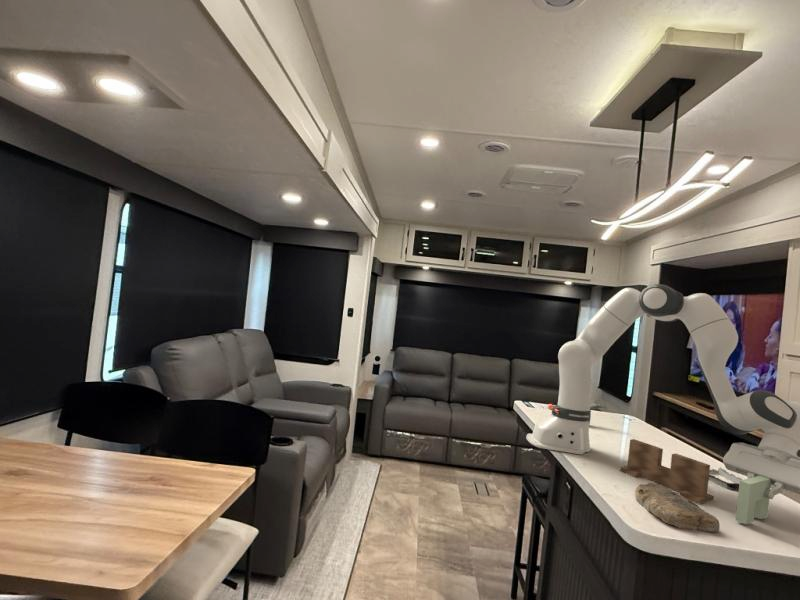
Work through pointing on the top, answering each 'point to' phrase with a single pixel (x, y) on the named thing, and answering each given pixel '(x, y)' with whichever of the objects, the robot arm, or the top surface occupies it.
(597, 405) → the inkwell
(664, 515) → the brown rock
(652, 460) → the walnut slotted board
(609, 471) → the top surface
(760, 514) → the green slotted plate
